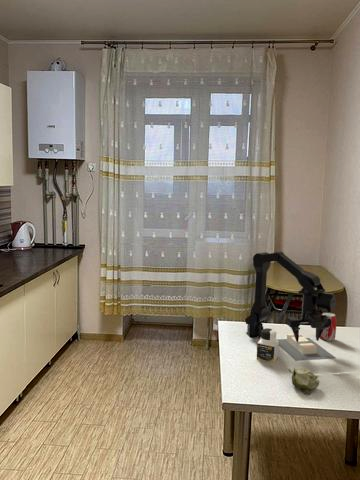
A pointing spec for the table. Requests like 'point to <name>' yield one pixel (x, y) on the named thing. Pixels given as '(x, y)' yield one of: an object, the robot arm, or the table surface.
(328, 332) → the soda can
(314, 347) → the stub
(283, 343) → the mat
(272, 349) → the medicine bottle
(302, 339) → the ticket
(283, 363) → the table surface
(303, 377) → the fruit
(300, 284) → the robot arm
